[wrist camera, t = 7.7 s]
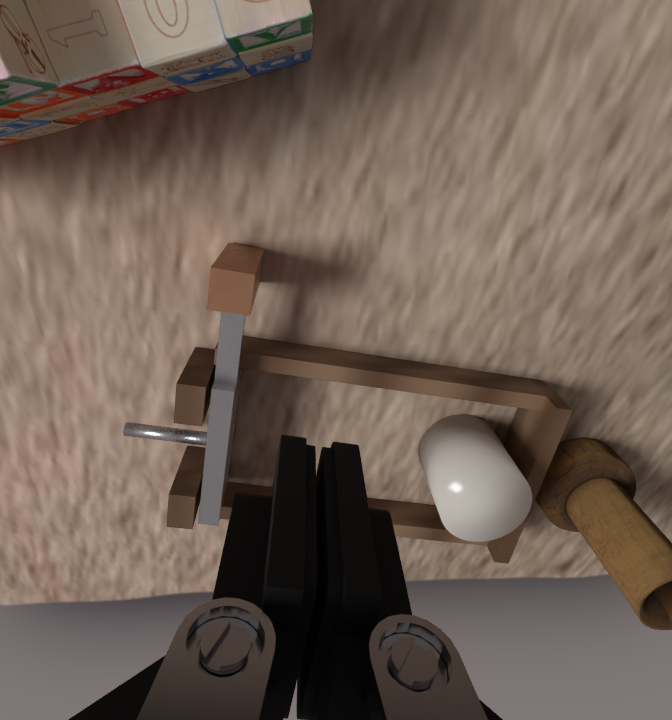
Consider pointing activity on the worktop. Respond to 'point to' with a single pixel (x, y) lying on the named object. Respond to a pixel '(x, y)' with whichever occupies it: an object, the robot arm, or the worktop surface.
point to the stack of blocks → (133, 54)
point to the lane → (532, 397)
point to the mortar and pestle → (611, 524)
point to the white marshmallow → (473, 479)
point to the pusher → (219, 374)
